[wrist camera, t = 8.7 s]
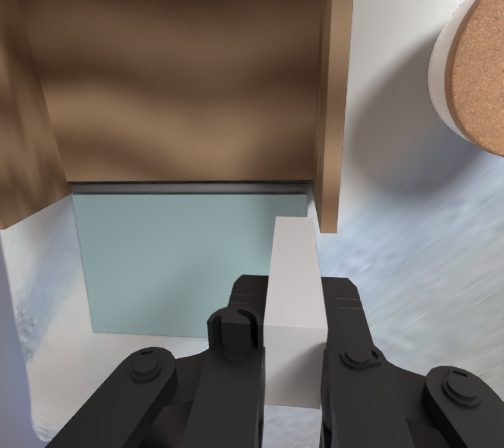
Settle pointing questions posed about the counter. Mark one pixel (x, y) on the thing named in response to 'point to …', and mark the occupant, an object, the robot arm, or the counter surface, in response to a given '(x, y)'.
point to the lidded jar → (471, 74)
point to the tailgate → (174, 249)
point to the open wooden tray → (171, 95)
